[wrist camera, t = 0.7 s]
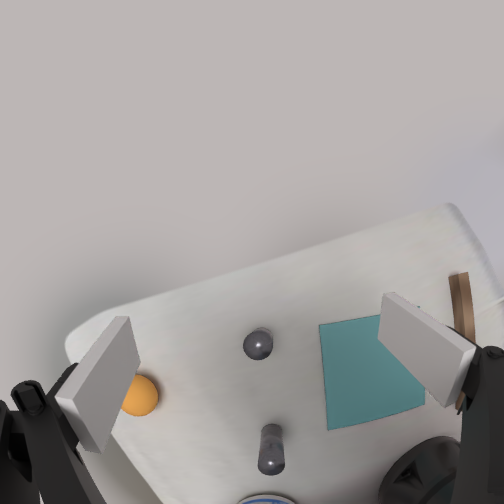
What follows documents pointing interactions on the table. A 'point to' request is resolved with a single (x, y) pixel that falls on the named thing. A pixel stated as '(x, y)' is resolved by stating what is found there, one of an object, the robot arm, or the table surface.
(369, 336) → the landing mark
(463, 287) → the brown wooden bar
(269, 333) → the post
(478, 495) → the robot arm
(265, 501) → the supplement tub
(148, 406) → the ball
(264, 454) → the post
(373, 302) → the table surface
